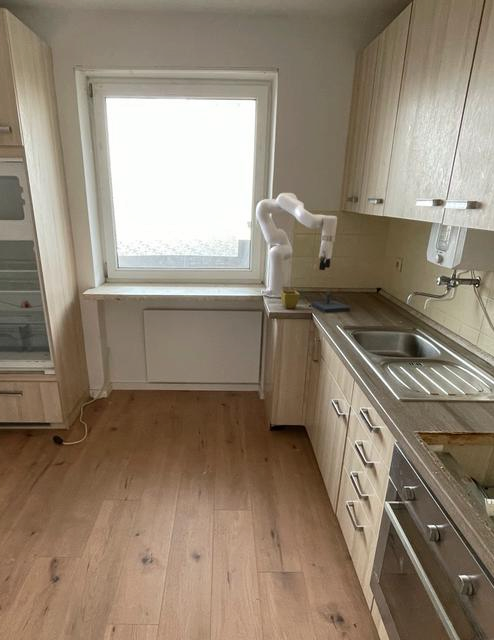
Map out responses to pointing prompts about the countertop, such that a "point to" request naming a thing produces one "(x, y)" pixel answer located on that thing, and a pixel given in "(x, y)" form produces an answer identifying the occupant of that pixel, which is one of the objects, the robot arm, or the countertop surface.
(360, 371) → the countertop surface
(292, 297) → the flower pot
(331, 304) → the dark stamp
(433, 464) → the countertop surface
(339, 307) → the big pad
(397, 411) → the countertop surface
